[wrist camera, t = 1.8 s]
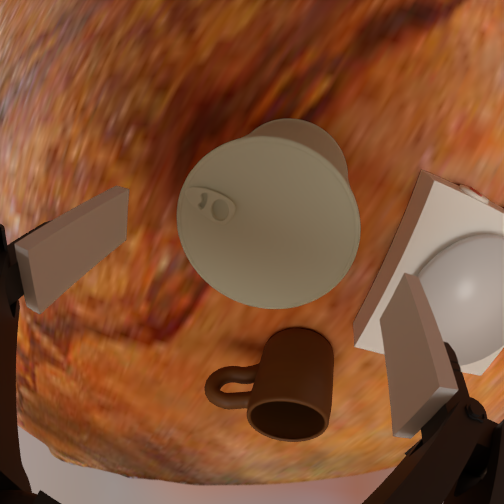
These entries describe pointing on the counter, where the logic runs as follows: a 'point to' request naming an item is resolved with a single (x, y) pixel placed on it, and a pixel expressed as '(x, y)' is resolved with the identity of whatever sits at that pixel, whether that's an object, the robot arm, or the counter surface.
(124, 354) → the counter surface
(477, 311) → the scale
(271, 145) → the can
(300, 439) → the mug
